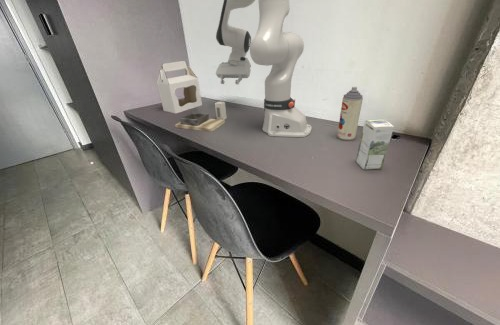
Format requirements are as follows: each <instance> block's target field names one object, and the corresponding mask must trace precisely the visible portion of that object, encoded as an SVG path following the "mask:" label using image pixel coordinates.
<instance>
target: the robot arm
mask: <svg viewBox="0 0 500 325" xmlns="http://www.w3.org/2000/svg"><path fill="white" fill-rule="evenodd" d="M255 1H256V0H223V3H222V8H221V12H220V17H219V22H218V27H217V29H216V32H215V39H216V41H217V43H218V44H219V45H220V46H225V47H228V48H229V47H230V48H231V52H230V54H229V57H228V61H227V62H221V63H220V64H219V65H218V66H217V68H216V71H215V75H216V76H217V78H219V79H220V84H221V85H225V82H226V81H225V79H235V82H234V83H235V85H240V82H241V81H242V80H243V79H248V78H249V77H250V75H251V69H252V68H251V67H252V65H251V63H250V60H249V58H248V57H246V56H247V53H248V52H249V55H250V57H251V60H252V61H253V62H254V64H256V65H259V66H266V67H267V66H271V70H270V71H269V74H268V75H267V76H266V77H265V79H264V100H263V108H264V119H263V125H262V131H263V132H264V133H266V134H267V135H268V136H269V137H283V138H284V137H285V138H287V137H289V138H290V137H291V138H305V137H307V136H309V134H311V132H312V130H313V129H312V126H311V124H308V122H307V117H306V115H305V114H304V113H303V112H302V111H300V110H299V109H298V108H297V107H295V106H296V105H295V104H296V98H295V99H293V98H292V97H291V93H292V92H291V90H292V79H293V75H294V74H293V73H294V71H295V68H296V64H297V63H298V60H299V58H300V57H301V56H302V54H303V52H304V48H305V45H304V44H305V43H304V40H303V37H301V35H299V34H297V33H294V32H292V31H291V32H290V31H286V32H283V27H284V22H285V19H286V18H287V17H288V15H289V13H290V9H291V8H290V0H258V10H259V12H258V13H259V17H258V18H259V22H258V27H257V30H256V31H257V32H256V34H255V36H254V37H253V39H252V36H251V34H250V32H249V31H248V30H246V29H243V28H239V27H235V26H232V25H229V19H230V14H231V11H234V10H237V9H245V8H248V7H249V6H251V5H252V4H254V3H255Z"/></svg>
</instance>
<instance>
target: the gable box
mask: <svg viewBox="0 0 500 325" xmlns="http://www.w3.org/2000/svg"><path fill="white" fill-rule="evenodd" d="M160 67H161V69H160V70H159V74H158V78H157V81H156V87H157V90H158V93H159V97H160V102H161V104H162V110H163V111H164V112H167V113H172V114H175V115H176V114H178V113H182V112H184V111H189V110H191V109H194V108H197V107H200V106H203V102H202V101H203V100H202V96H201V95H202V94H201V91H200V90H201V89H200V84H199V78H198V76H197V75H196V74H195V72H194V71H193V70H192V68H190V65H187V63H186V61H185V60H180V61H172V62H165V63H162V65H160ZM179 70H184V75H180V76H175V77H169V78H168V77H167V75H166V73H168V72H172V71H179ZM180 88H181V89H182V88H183V96H184V99H183V100H179V99H178V96H177V95H176V90H177V89H180Z"/></svg>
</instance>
